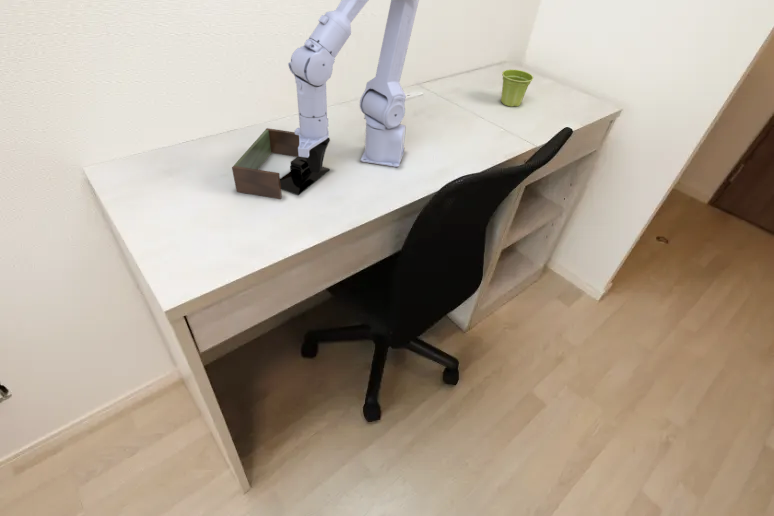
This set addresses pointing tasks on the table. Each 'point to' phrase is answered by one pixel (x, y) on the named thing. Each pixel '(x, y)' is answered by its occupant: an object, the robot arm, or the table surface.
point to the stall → (255, 156)
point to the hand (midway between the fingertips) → (315, 170)
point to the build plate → (300, 176)
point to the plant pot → (514, 86)
